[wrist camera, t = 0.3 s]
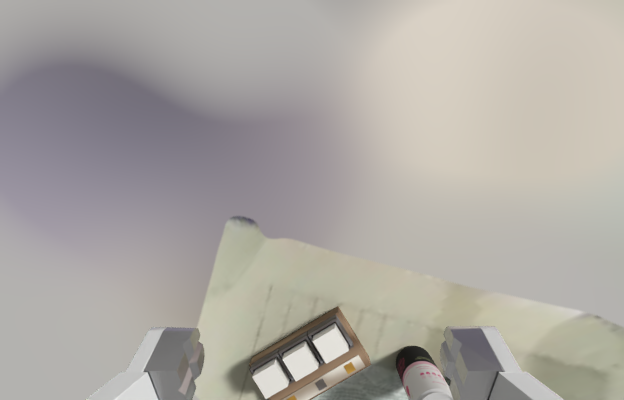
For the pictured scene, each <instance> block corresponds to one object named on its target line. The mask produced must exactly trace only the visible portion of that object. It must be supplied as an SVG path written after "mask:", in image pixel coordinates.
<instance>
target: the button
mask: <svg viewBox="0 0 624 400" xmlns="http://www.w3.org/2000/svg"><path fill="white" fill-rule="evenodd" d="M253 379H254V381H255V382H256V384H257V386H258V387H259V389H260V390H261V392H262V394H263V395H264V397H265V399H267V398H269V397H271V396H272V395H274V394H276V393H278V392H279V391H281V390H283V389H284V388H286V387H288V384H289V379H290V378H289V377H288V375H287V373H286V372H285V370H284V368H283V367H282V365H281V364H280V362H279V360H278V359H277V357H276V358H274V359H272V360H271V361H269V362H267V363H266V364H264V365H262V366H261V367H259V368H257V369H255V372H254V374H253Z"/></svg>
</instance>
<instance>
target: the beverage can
mask: <svg viewBox="0 0 624 400" xmlns="http://www.w3.org/2000/svg"><path fill="white" fill-rule="evenodd" d="M396 368H397V371H398V373H399V376H400V378H401V381H402V384H403V386H404V389H405V391H406V394H407V397H408V399H409V400H453V397H452V394H451V392H450V389H449V386H448V384H447V382H446V381H445V379H444V378H443V376H442V374H441V373H440V371H439V369H438V368H437V366H436V365H435V363H434V361H433V360H432V358H431V357H430V355H429V353H428V352H427V351H426V350H424V349H423V348H421V347H418V346H409V347H406V348H404V349H403V350H402V351H401V352H400V353H399V354H398V356H397V359H396Z"/></svg>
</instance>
